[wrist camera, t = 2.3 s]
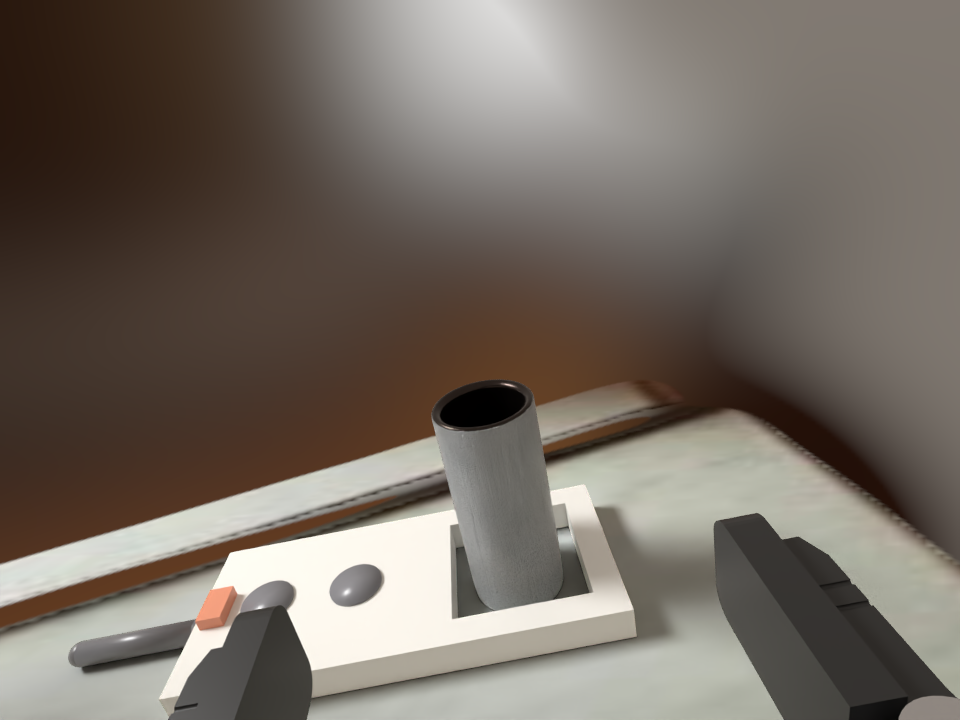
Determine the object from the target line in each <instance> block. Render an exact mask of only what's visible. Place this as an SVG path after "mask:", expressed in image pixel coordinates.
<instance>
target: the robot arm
mask: <svg viewBox="0 0 960 720" xmlns="http://www.w3.org/2000/svg"><path fill="white" fill-rule="evenodd" d="M714 548H715V569H716V586H717V592H718V596H719V600H720V603H721V606H722V609H723V611H724V614H725V616H726V618H727V620H728V622H729V624H730V625H731V627H732V629H733V631H734V633H735V634H736V636H737V638H738V640H739V641H740V643H741V645H742V647H743V648H744V650H745V652H746V654H747V655H748V657H749V659H750V661H751V662H752V664H753V666H754V668H755V670H756V671H757V673H758V675H759V677H760V678H761V680H762V682H763V684H764V685H765V687H766V689H767V691H768V692H769V694H770V696H771V698H772V699H773V701H774V703H775V705H776V706H777V708H778V710H779V712H780V714H781V715H782V717H783V719H784V720H960V699H958V698H957V697H955V696H954V695H953V694H952V693H951V692H950V691H949V690H948V689H947V688H946V687H945V686H944V685H943V683H942V682H941V681H940V680H939V679H938V678H937V677H936V676H935V674H934V673H933V672H932V671H931V670H930V669H929V668H928V667H927V665H926V664H925V663H924V662H923V661H922V660H921V659H920V658H919V656H918V655H917V654H916V653H915V652H914V651H913V650H912V649H911V647H910V646H909V645H908V644H907V643H906V642H905V641H904V639H903V638H902V637H901V636H900V635H899V634H898V633H897V632H896V630H895V629H894V628H893V627H892V626H891V625H890V624H889V623H888V621H887V620H886V619H885V618H884V617H883V616H882V615H881V614H880V612H879V611H878V610H877V609H876V608H875V607H874V606H871V605H870V604H869V601H868V599H867V598H866V597H865V596H864V594H863V593H862V592H861V591H860V590H859V589H858V588H857V587H856V585H855V584H854V585H852V583H851V581H850V579H849V578H848V576H847V575H846V574H845V573H844V572H843V571H842V570H841V569H840V567H839V566H838V565H837V564H836V563H835V562H834V561H833V560H832V558H831V557H830V556H829V555H828V554H826V553H824V552H823V551H821V550H819V549H818V548H816V547H815V546H813V545H811V544H810V543H808V542H806V541H805V540H803V539H801V538H800V537H794V538H789V539H784V540H782V539H781V538H780V537H779V535H778V534H777V533H776V532H775V531H774V529H773V528H772V527H771V526H770V524H769V523H768V522H767V521H766V519H765V518H764V517H763V516H762V515H760V514H758V513H755V514H750V515H744V516H739V517H734V518H729V519H724V520H719V521H716V522H715V524H714ZM312 687H313V681H312V671H311V666H310V662H309V660H308V657H307V655H306V653H305V650H304V648H303V646H302V644H301V641H300V639H299V637H298V635H297V632H296V630H295V628H294V625H293V623H292V621H291V619H290V616H289V614H288V612H287V610H286V609H285V607H283V606H282V605H277V606H272V607H267V608H262V609H257V610H252V611H247V612H242V613H239V614H238V615H237V616H236V617H235V619H234V621H233V623H232V625H231V628H230V630H229V632H228V635H227V637H226V639H225V642H224V644H223V647H220V648H215V649H211V650H210V651H209V652H208V654H207V655H206V656H205V657H204V658H203V660H202V661H201V662H200V663H199V664H198V666H197V667H196V668H195V669H194V671H193V672H192V673H191V674H190V675H189V677H188V678H187V680H186V682H185V685H184V687H183V689H182V691H181V693H180V695H179V698H178V700H177V702H176V704H175V706H174V713H172V714H171V715H170V717H169V719H168V720H307V715H308V711H309V707H310V702H311V697H312Z"/></svg>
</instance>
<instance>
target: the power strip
mask: <svg viewBox="0 0 960 720" xmlns="http://www.w3.org/2000/svg"><path fill="white" fill-rule="evenodd" d="M550 495H551V501H552V507H553V513H554V518H555V524H556V529H557V528H562V527H567V526H569V529H570V532H571V535H572V538H573V542H574V545H575V548H576V551H577V555H578V558H579V561H580V564H581V567H582V571H583V574H584V577H585V580H586V584H587V587H588V590H589V593H588V594H582V595H577V596H572V597H567V598H561V599H556V600H551V601H546V602H540V603H535V604H530V605H525V606H519V607H514V608H509V609H504V610H498V611H493V612H488V613H482V614H477V615H472V616H467V617H461V618H458V597H457V566H456V548H458V547H463V546H464V543H463V539H462V535H461V531H460V527H459V523H458V519H457V516H456V512H455V509H454V510H449V511H444V512H439V513H434V514H428V515H423V516H418V517H413V518H408V519H403V520H397V521H392V522H387V523H382V524H377V525H372V526H366V527H361V528H356V529H351V530H346V531H341V532H335V533H330V534H325V535H320V536H315V537H310V538H304V539H299V540H294V541H289V542H284V543H279V544H273V545H268V546H263V547H258V548H253V549H248V550H242V551H237V552H232V553H230V555H229V557H228V559H227V561H226V563H225V565H224V567H223V569H222V571H221V573H220V575H219V577H218V579H217V581H216V583H215V585H214V587H213V589H212V590H210V592H209V594H208V596H207V598H206V600H205V602H204V604H203V606H202V608H201V610H200V612H199V614H198V617H197V619H195V620H190V621H185V622H179V623H174V624H169V625H164V626H159V627H153V628H148V629H143V630H138V631H132V632H127V633H122V634H117V635H112V636H106V637H101V638H96V639H91V640H85V641H81V642H79V643H77V644H75V645H74V646H73V647H72V648H71V650H70V652H69V655H68V660H69V662H70V664H71V665H73V666H75V667H84V666H89V665H94V664H99V663H105V662H110V661H115V660H120V659H126V658H131V657H136V656H141V655H147V654H152V653H157V652H162V651H167V650H173V649H178V648H183V647H184V649H183V651H182V653H181V655H180V657H179V659H178V661H177V663H176V665H175V667H174V669H173V671H172V673H171V675H170V678H169V680H168V682H167V684H166V686H165V688H164V690H163V692H162V694H161V696H160V698H159V701H160V703H161V704H162V706H163V708H164V709H165V711H166V712H167V714H168V716H169V717H170V715H171V714H172V713H174V706H175V704H176V702H177V700H178V698H179V695H180V693H181V691H182V689H183V687H184V685H185V682H186V680H187V678H188V677H189V675H190V674H191V673H192V672H193V671H194V669H195V668H196V667H197V666H198V664H199V663H200V662H201V661H202V660H203V658H204V657H205V656H206V655H207V654H208V652H209V651H210V650H211V649H215V648H220V647H223V644H224V642H225V639H226V637H227V635H228V632H229V630H230V628H231V625H232V623H233V621H234V619H235V617H236V616H237V615H238V614H239V613H242V612H247V611H252V610H257V609H262V608H267V607H272V606H277V605H282V606H283V607H285V609H286V610H287V612H288V614H289V616H290V619H291V621H292V623H293V625H294V628H295V630H296V632H297V635H298V637H299V639H300V641H301V644H302V646H303V648H304V650H305V653H306V655H307V657H308V660H309V662H310V666H311V671H312V681H313V687H312V697H311V698H314V697H320V696H325V695H330V694H335V693H341V692H346V691H351V690H357V689H362V688H367V687H373V686H378V685H383V684H388V683H394V682H399V681H404V680H410V679H415V678H420V677H426V676H431V675H436V674H441V673H447V672H452V671H457V670H463V669H468V668H473V667H479V666H484V665H489V664H495V663H500V662H505V661H510V660H516V659H521V658H526V657H532V656H537V655H542V654H548V653H553V652H558V651H563V650H569V649H574V648H579V647H585V646H590V645H595V644H601V643H606V642H611V641H616V640H622V639H627V638H632V637H637V634H636V625H635V616H634V609H633V606H632V604H631V601H630V599H629V596H628V593H627V591H626V588H625V586H624V583H623V581H622V578H621V576H620V573H619V570H618V568H617V565H616V563H615V560H614V558H613V555H612V552H611V550H610V547H609V545H608V542H607V540H606V537H605V535H604V532H603V529H602V527H601V524H600V522H599V519H598V517H597V514H596V512H595V509H594V506H593V504H592V501H591V499H590V496H589V494H588V491H587V488H586V486H585V484H584V485H578V486H573V487H568V488H563V489H558V490H553V491H550Z"/></svg>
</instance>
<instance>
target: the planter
mask: <svg viewBox="0 0 960 720" xmlns="http://www.w3.org/2000/svg"><path fill="white" fill-rule="evenodd" d="M432 421H433V425H434V429H435V433H436V437H437V441H438V445H439V449H440V453H441V457H442V461H443V464H444V468H445V472H446V476H447V480H448V484H449V488H450V492H451V496H452V500H453V504H454V508H455V512H456V516H457V519H458V523H459V527H460V531H461V535H462V539H463V543H464V547H465V551H466V555H467V559H468V563H469V567H470V571H471V574H472V578H473V582H474V586H475V589H476V592H477V594H478V596H479V598H480V600H481V601H482V602H483V603H484V604H485V605H486V606H487V607H489V608H490V609H492V610H494V611H498V610H504V609H509V608H514V607H519V606H525V605H530V604H535V603H540V602H546V601H551V600H553V599H554V597H555V596H556V595H557V594H558V592H559V590H560V589H561V586H562V583H563V566H562V559H561V553H560V548H559V542H558V536H557V530H556V524H555V518H554V513H553V507H552V501H551V495H550V489H549V483H548V477H547V472H546V466H545V460H544V454H543V448H542V442H541V436H540V431H539V425H538V419H537V413H536V407H535V402H534V397H533V394H532V392H531V390H530V389H529V388H527V387H526V386H525V385H523V384H521V383H518V382H515V381H510V380H485V381H479V382H475V383H471V384H468V385H464V386H462V387H459V388H457V389H455V390H453V391H451V392H449V393H448V394H446V395H445V396H443V397H442V398H441V399H440V400H439V401H438V402H437V403H436V404H435V406H434V408H433V410H432Z"/></svg>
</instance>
